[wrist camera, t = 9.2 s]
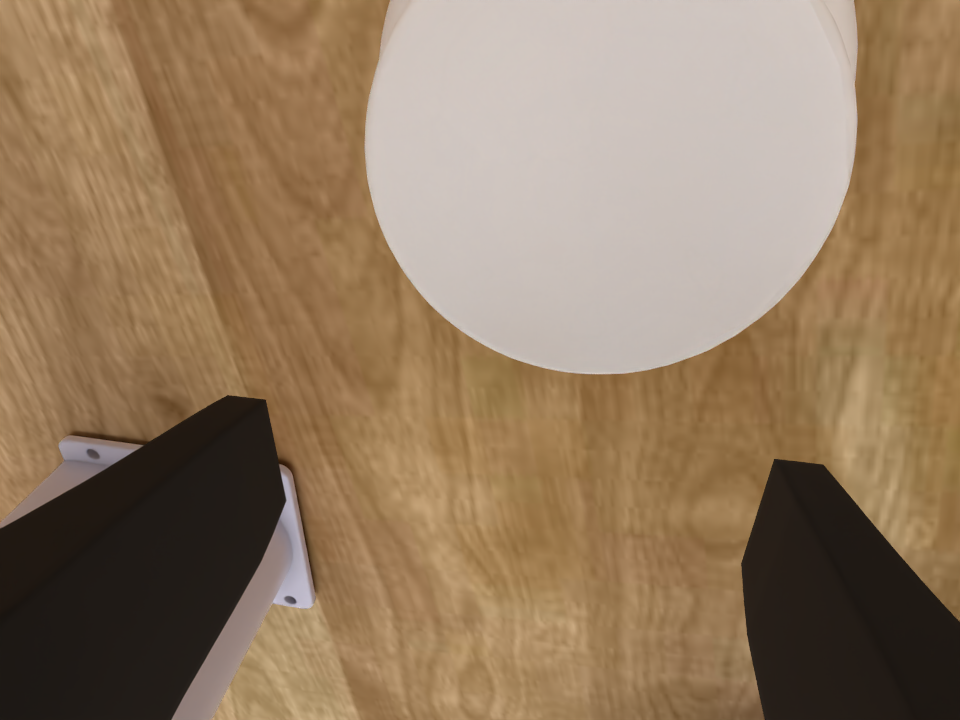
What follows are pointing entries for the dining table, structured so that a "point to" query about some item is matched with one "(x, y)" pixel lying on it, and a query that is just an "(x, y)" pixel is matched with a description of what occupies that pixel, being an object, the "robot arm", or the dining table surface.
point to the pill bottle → (610, 166)
